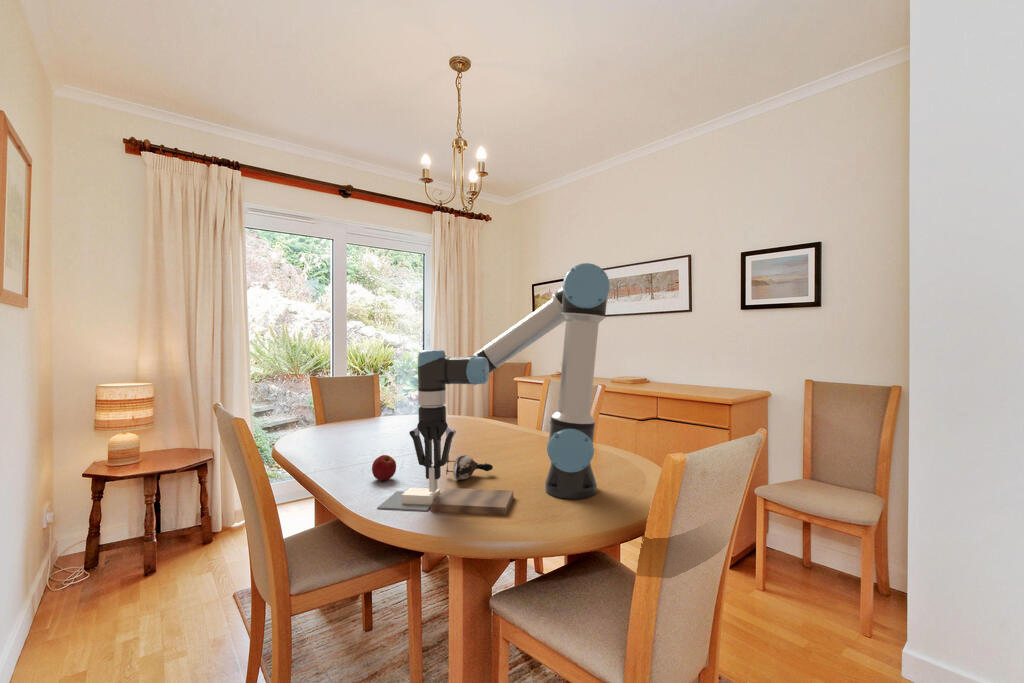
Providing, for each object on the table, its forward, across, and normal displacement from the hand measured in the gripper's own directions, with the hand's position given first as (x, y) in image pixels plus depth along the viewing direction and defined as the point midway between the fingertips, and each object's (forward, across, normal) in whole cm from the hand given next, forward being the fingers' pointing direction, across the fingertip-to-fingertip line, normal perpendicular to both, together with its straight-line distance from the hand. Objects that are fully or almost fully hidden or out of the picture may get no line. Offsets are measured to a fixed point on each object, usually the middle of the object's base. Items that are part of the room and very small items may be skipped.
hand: (433, 490), depth 127 cm
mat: (+3, +6, 0) cm, 7 cm away
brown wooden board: (+3, -12, 0) cm, 12 cm away
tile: (+3, +4, 0) cm, 5 cm away
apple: (+4, +22, -18) cm, 29 cm away
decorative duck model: (+4, -5, -21) cm, 22 cm away
